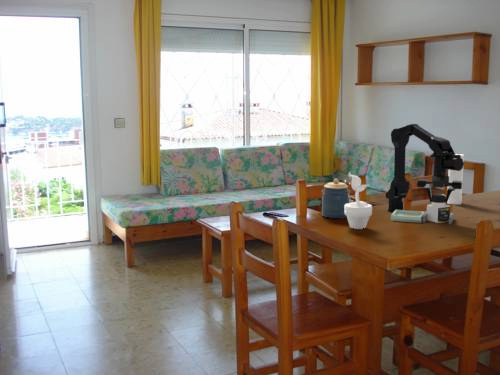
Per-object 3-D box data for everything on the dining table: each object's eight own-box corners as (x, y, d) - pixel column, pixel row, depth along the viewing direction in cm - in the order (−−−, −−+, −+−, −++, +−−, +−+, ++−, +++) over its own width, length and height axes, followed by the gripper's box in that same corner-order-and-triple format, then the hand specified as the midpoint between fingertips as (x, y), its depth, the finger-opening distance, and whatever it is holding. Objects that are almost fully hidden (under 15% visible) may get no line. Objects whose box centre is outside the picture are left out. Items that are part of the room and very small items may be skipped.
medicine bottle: (437, 223, 260) (438, 196, 258) (425, 220, 266) (427, 193, 264) (449, 221, 263) (451, 195, 261) (437, 218, 269) (439, 192, 267)
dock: (422, 222, 262) (422, 215, 262) (425, 217, 272) (425, 210, 272) (451, 224, 258) (451, 217, 257) (452, 219, 268) (453, 212, 267)
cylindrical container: (462, 202, 307) (464, 154, 303) (460, 204, 300) (463, 155, 296) (447, 201, 310) (450, 153, 306) (446, 203, 303) (448, 155, 299)
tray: (390, 220, 266) (391, 215, 266) (395, 214, 278) (395, 209, 277) (420, 222, 261) (421, 217, 261) (424, 216, 273) (424, 211, 273)
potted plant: (338, 226, 256) (339, 168, 252) (361, 223, 260) (362, 167, 256) (354, 232, 244) (356, 172, 240) (378, 229, 249) (380, 170, 245)
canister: (322, 219, 270) (322, 180, 267) (320, 213, 283) (321, 176, 280) (351, 219, 269) (352, 180, 267) (348, 213, 282) (348, 176, 279)
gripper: (415, 169, 257) (414, 205, 259) (461, 171, 250) (459, 208, 252) (419, 166, 267) (417, 200, 270) (463, 168, 260) (461, 203, 263)
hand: (438, 203), depth 263 cm, fingers closed on medicine bottle, 6 cm apart
